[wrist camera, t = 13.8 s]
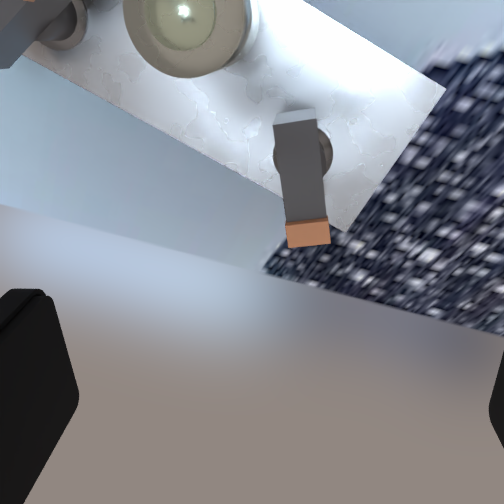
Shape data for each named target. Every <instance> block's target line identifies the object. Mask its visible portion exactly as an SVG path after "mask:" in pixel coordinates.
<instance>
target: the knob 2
mask: <svg viewBox="0 0 504 504" xmlns="http://www.w3.org/2000/svg"><path fill="white" fill-rule="evenodd" d="M272 126H273V133H274V140H275V146H276V153H277V160H278V167H279V174H280V181H281V188H282V195H283V201H284V208H285V215H286V223H285V228H286V235H287V241H288V248H293V247H302V246H312V245H321V244H330V243H331V241H330V232H329V222H328V215H327V214H326V204H325V195H324V185H323V177H324V175H325V172H326V158H325V152H324V148H323V146H322V144H321V142H320V141H319V137H318V128H317V118H316V112H315V107H314V108H308V109H302V110H295V111H289V112H283V113H277V114H276V117H275V119H274V122H273V125H272Z"/></svg>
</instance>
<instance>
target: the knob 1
mask: <svg viewBox="0 0 504 504" xmlns="http://www.w3.org/2000/svg"><path fill="white" fill-rule="evenodd" d="M76 26H77V13H76V9H75V7H74V4H73V3H72V0H0V69H7V68H10V67H11V66H12V65H13V63H14V62H15V61H16V60H17V59H18V58H19V57H20V56H21V55H22V54H23V53H24V52H25V51H26V49H27V48H28V47H29V46H30V45H31V44H32V43H33V42H34V41H62V40H65V39H68V38H69V37H70V36H71V35H72V34H73V33H74V31H75V29H76Z"/></svg>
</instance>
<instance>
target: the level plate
mask: <svg viewBox="0 0 504 504" xmlns="http://www.w3.org/2000/svg"><path fill="white" fill-rule="evenodd" d="M72 3H73V4H74V7H75V9H76V13H77V26H76V29H75V31H74V33H73V34H72V35H71V36H70V37H69V38H68V39H65V40H62V41H34V42H33V43H32V44H31V45H30V46H29V47H28V48H27V49H26V51H25V52H24V53H23V54H22V55H24V56H26V57H28V58H29V59H31V60H33V61H35V62H37V63H38V64H40V65H42V66H44V67H46V68H47V69H49V70H51V71H53V72H55V73H57V74H58V75H60V76H62V77H64V78H66V79H67V80H69V81H71V82H73V83H75V84H77V85H78V86H80V87H82V88H84V89H86V90H87V91H89V92H91V93H93V94H95V95H96V96H98V97H100V98H102V99H104V100H106V101H107V102H109V103H111V104H113V105H115V106H116V107H118V108H120V109H122V110H124V111H126V112H127V113H129V114H131V115H133V116H135V117H136V118H138V119H140V120H142V121H144V122H146V123H147V124H149V125H151V126H153V127H155V128H156V129H158V130H160V131H162V132H164V133H165V134H167V135H169V136H171V137H173V138H175V139H176V140H178V141H180V142H182V143H184V144H185V145H187V146H189V147H191V148H193V149H195V150H196V151H198V152H200V153H202V154H204V155H205V156H207V157H209V158H211V159H213V160H214V161H216V162H218V163H220V164H222V165H224V166H225V167H227V168H229V169H231V170H233V171H234V172H236V173H238V174H240V175H242V176H244V177H245V178H247V179H249V180H251V181H253V182H254V183H256V184H258V185H260V186H262V187H264V188H265V189H267V190H269V191H271V192H273V193H274V194H276V195H278V196H280V197H282V198H283V195H282V188H281V181H280V174H279V167H278V160H277V153H276V146H275V140H274V133H273V126H272V125H273V122H274V119H275V117H276V114H277V113H283V112H289V111H295V110H302V109H308V108H314V107H315V112H316V118H317V128H318V137H319V141H320V142H321V144H322V146H323V148H324V152H325V158H326V172H325V175H324V177H323V185H324V195H325V204H326V214H327V215H328V222H329V224H331V225H332V226H334V227H336V228H338V229H340V230H342V231H343V232H345V233H346V231H347V230H348V229H349V227H350V226H351V224H352V223H353V221H354V220H355V219H356V217H357V216H358V214H359V213H360V211H361V210H362V209H363V207H364V206H365V204H366V203H367V201H368V200H369V199H370V197H371V196H372V194H373V193H374V191H375V190H376V189H377V187H378V186H379V184H380V183H381V182H382V180H383V179H384V177H385V176H386V174H387V173H388V172H389V170H390V169H391V167H392V166H393V164H394V163H395V162H396V160H397V159H398V157H399V156H400V154H401V153H402V152H403V150H404V149H405V147H406V146H407V144H408V143H409V142H410V140H411V139H412V137H413V136H414V134H415V133H416V132H417V130H418V129H419V127H420V126H421V125H422V123H423V122H424V120H425V119H426V117H427V116H428V115H429V113H430V112H431V110H432V109H433V107H434V106H435V105H436V103H437V102H438V100H439V99H440V97H441V96H442V95H443V93H444V92H445V90H446V89H445V88H444V87H442V86H441V85H439V84H437V83H436V82H434V81H432V80H431V79H429V78H428V77H426V76H424V75H423V74H421V73H419V72H418V71H416V70H415V69H413V68H411V67H410V66H408V65H406V64H405V63H403V62H401V61H400V60H398V59H397V58H395V57H393V56H392V55H390V54H388V53H387V52H385V51H384V50H382V49H380V48H379V47H377V46H375V45H374V44H372V43H371V42H369V41H367V40H366V39H364V38H362V37H361V36H359V35H358V34H356V33H354V32H353V31H351V30H349V29H348V28H346V27H345V26H343V25H341V24H340V23H338V22H336V21H335V20H333V19H332V18H330V17H328V16H327V15H325V14H323V13H322V12H320V11H319V10H317V9H315V8H314V7H312V6H310V5H309V4H307V3H306V2H304V1H302V0H72Z"/></svg>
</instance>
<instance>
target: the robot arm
mask: <svg viewBox="0 0 504 504" xmlns="http://www.w3.org/2000/svg"><path fill="white" fill-rule="evenodd" d="M78 401H79V390H78V387H77V383H76V380H75V376H74V373H73V369H72V365H71V362H70V358H69V355H68V351H67V348H66V344H65V341H64V337H63V334H62V330H61V327H60V323H59V319H58V316H57V312H56V309H55V305H54V302H53V300H52V298H51V297H50V296H46V294H45V293H44V292H43V290H40V289H11V290H9V291H8V292H7V293H5V294H4V295H3V296H2V297H1V298H0V504H23V503H24V502H25V499H26V498H27V496H28V495H29V492H30V491H31V489H32V487H33V486H34V484H35V482H36V480H37V478H38V477H39V475H40V473H41V471H42V469H43V468H44V466H45V464H46V462H47V460H48V459H49V457H50V455H51V453H52V451H53V450H54V448H55V446H56V444H57V442H58V440H59V439H60V437H61V435H62V434H63V432H64V430H65V428H66V426H67V425H68V423H69V421H70V419H71V418H72V416H73V414H74V412H75V410H76V408H77V406H78ZM489 417H490V420H491V423H492V425H493V428H494V430H495V432H496V434H497V436H498V438H499V440H500V442H501V444H502V446H503V448H504V352H503V356H502V360H501V364H500V367H499V370H498V374H497V378H496V381H495V385H494V389H493V392H492V396H491V399H490V403H489Z"/></svg>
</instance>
